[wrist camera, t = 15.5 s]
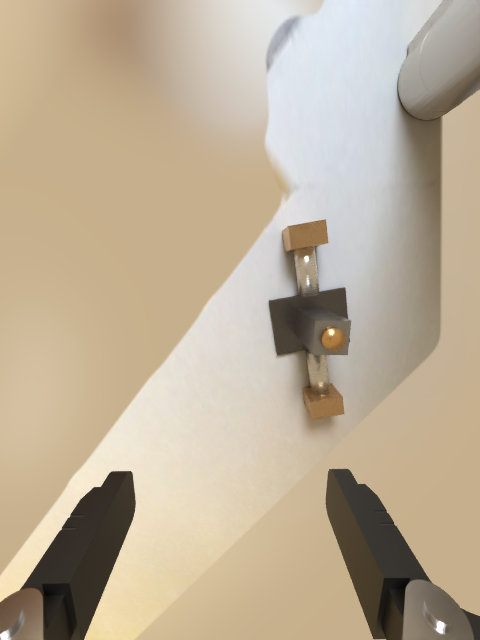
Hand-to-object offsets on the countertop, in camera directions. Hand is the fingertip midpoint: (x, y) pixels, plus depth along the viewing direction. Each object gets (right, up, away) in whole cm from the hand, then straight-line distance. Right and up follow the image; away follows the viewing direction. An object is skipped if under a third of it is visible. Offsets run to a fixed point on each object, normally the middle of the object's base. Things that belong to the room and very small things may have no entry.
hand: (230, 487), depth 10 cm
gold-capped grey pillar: (+12, +6, +29) cm, 32 cm away
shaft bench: (+12, +7, +30) cm, 32 cm away
